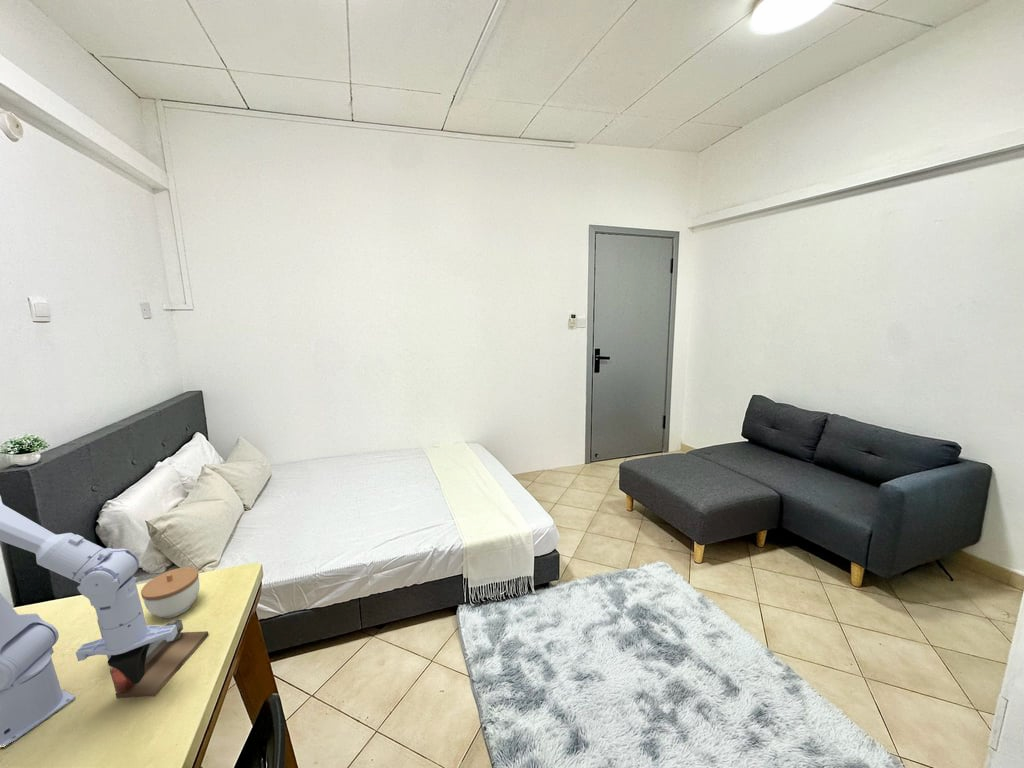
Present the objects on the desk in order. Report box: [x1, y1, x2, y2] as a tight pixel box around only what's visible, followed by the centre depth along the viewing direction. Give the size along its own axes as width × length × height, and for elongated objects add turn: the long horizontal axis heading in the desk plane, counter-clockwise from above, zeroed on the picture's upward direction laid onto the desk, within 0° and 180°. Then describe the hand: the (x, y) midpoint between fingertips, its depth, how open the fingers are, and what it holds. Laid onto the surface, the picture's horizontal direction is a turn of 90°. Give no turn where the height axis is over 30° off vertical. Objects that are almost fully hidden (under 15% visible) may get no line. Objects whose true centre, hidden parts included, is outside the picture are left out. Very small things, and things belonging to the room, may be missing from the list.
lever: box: [110, 618, 184, 694], centre depth 84 cm, size 15×4×4 cm, turn 1°
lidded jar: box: [140, 566, 200, 619], centre depth 100 cm, size 11×11×9 cm
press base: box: [114, 619, 210, 699], centre depth 85 cm, size 14×7×5 cm, turn 1°
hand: (138, 679), depth 78 cm, fingers closed
